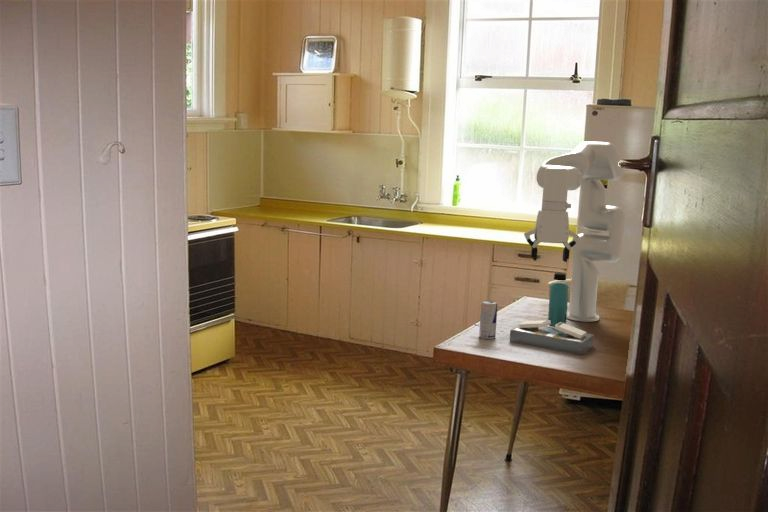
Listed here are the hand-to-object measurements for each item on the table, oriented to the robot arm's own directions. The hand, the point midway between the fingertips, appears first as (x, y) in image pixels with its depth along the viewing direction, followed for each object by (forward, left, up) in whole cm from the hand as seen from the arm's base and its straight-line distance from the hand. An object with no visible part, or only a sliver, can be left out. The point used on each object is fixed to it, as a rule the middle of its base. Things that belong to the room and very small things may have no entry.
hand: (549, 260), depth 251 cm
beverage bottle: (-22, -4, -28) cm, 36 cm away
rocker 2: (-3, +7, -22) cm, 24 cm away
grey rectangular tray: (-3, +1, -28) cm, 28 cm away
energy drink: (+3, -19, -28) cm, 34 cm away
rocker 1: (-3, -5, -22) cm, 23 cm away
